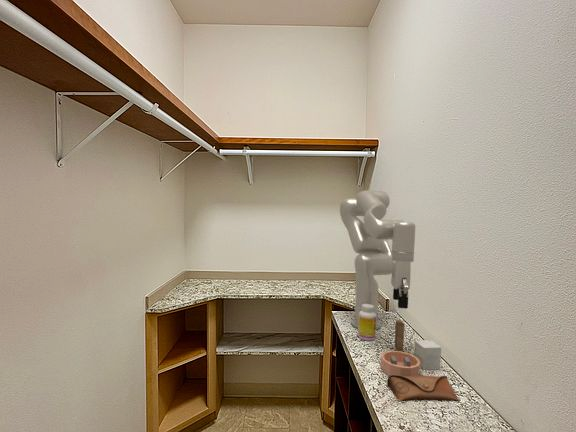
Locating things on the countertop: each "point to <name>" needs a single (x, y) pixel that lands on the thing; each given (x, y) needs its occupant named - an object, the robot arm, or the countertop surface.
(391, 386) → the sunglasses case
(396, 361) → the terracotta shallow dish
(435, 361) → the product box
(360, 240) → the robot arm
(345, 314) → the countertop surface
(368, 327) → the supplement bottle
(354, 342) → the countertop surface
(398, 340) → the wooden plank
